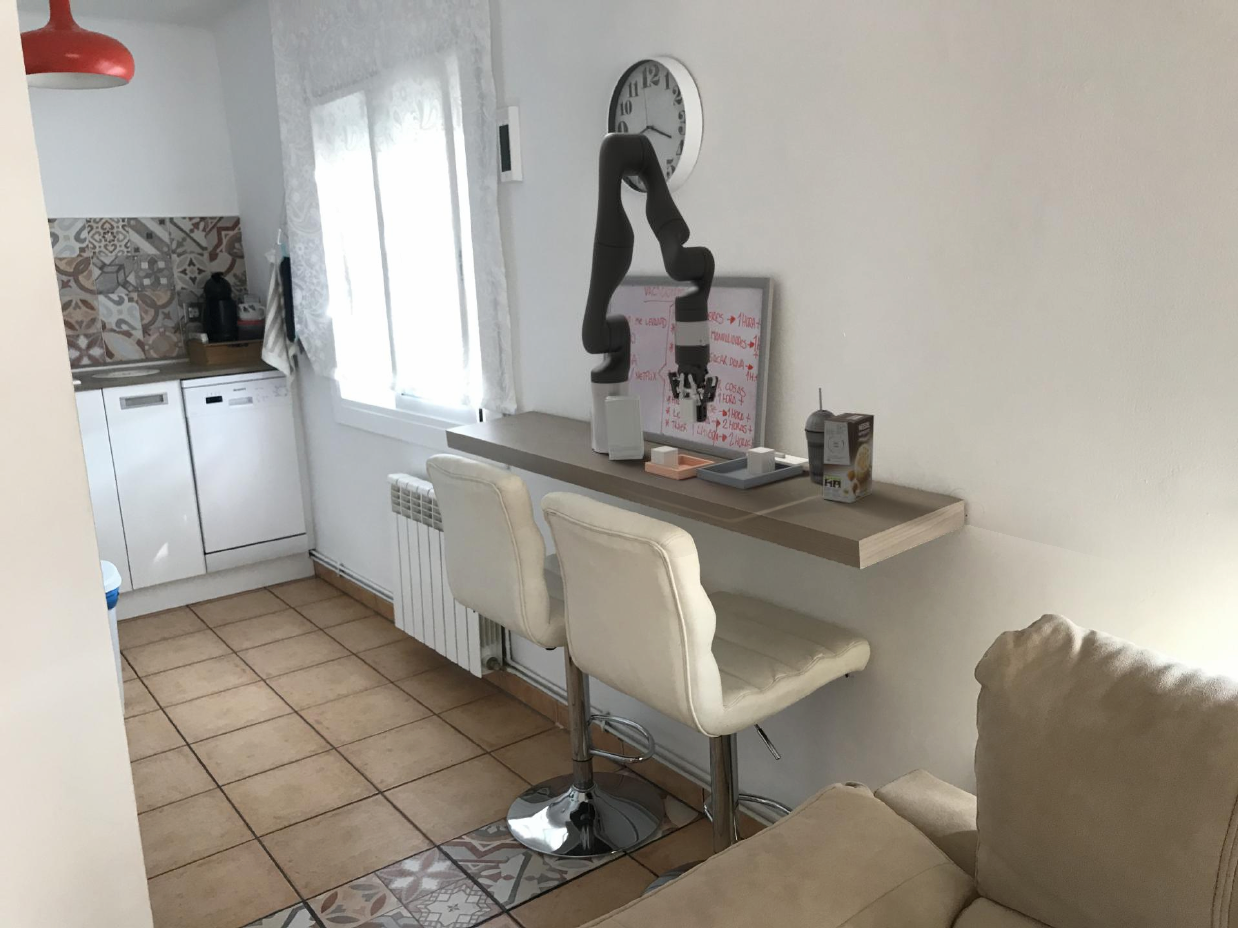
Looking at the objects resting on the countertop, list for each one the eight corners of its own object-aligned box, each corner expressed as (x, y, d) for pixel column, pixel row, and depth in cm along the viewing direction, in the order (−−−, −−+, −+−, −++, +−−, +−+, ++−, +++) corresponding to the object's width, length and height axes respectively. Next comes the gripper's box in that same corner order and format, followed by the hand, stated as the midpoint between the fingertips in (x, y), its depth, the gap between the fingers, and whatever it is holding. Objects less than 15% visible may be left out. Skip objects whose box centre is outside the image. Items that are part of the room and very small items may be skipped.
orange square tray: (645, 473, 220) (644, 462, 219) (681, 465, 227) (681, 454, 226) (678, 482, 212) (678, 471, 211) (715, 473, 218) (715, 462, 218)
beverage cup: (813, 489, 202) (814, 392, 197) (798, 481, 209) (798, 387, 204) (845, 485, 204) (847, 390, 199) (829, 477, 211) (830, 384, 206)
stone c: (747, 472, 215) (747, 450, 214) (760, 469, 218) (760, 446, 217) (761, 475, 212) (761, 453, 211) (774, 472, 215) (775, 449, 213)
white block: (651, 471, 220) (650, 449, 218) (665, 467, 222) (665, 446, 221) (664, 474, 216) (663, 452, 215) (678, 470, 219) (677, 448, 218)
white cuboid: (680, 421, 216) (679, 398, 215) (694, 418, 219) (693, 396, 218) (693, 423, 213) (692, 400, 212) (707, 420, 216) (706, 398, 214)
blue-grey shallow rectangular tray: (695, 479, 213) (695, 462, 212) (762, 463, 225) (762, 446, 225) (744, 492, 202) (744, 473, 201) (811, 473, 214) (811, 456, 213)
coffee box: (851, 504, 191) (853, 422, 187) (822, 499, 195) (823, 419, 191) (872, 493, 198) (874, 414, 194) (843, 488, 202) (844, 411, 198)
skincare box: (644, 454, 239) (642, 393, 235) (642, 460, 233) (640, 398, 229) (609, 454, 239) (607, 394, 236) (607, 460, 234) (604, 398, 230)
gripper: (657, 341, 215) (659, 419, 219) (702, 345, 204) (703, 427, 208) (682, 338, 220) (684, 414, 224) (728, 342, 209) (729, 421, 213)
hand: (693, 419), depth 216 cm, fingers closed on white cuboid, 4 cm apart
